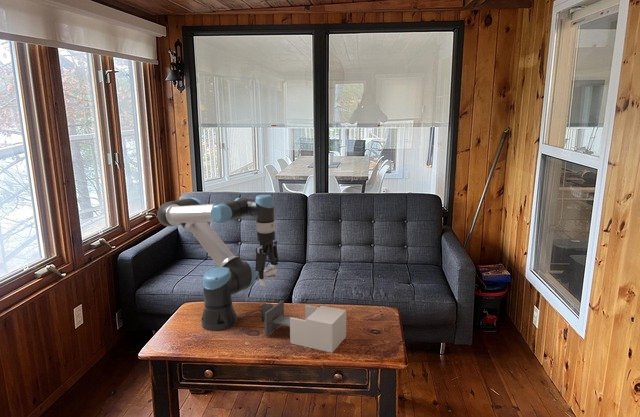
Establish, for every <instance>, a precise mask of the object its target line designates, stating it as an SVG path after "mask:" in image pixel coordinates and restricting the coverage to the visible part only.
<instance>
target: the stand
mask: <svg viewBox="0 0 640 417" xmlns="http://www.w3.org/2000/svg"><path fill="white" fill-rule="evenodd" d="M272 307H274V304H272V303H263V304H261V305H260V320H261V321H263V322H265V312H267V311H268V310H269V309H271V308H272Z"/></svg>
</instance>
